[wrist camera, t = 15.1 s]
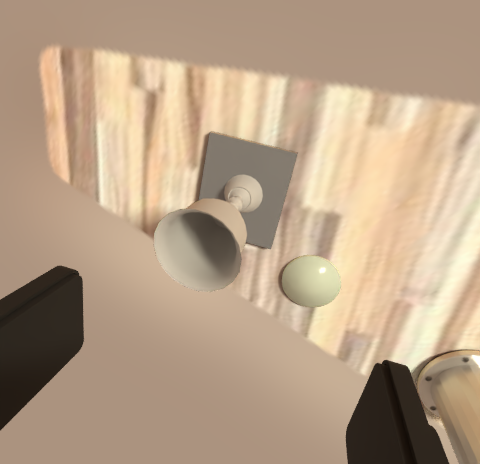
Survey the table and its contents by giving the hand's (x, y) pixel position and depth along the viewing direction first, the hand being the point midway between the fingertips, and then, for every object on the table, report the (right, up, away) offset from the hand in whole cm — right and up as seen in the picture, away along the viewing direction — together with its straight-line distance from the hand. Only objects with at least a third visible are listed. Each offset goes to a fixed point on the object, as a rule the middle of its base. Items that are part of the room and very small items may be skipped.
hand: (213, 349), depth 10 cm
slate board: (+1, +9, +32) cm, 33 cm away
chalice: (+1, +9, +31) cm, 33 cm away
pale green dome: (+11, -3, +35) cm, 37 cm away
